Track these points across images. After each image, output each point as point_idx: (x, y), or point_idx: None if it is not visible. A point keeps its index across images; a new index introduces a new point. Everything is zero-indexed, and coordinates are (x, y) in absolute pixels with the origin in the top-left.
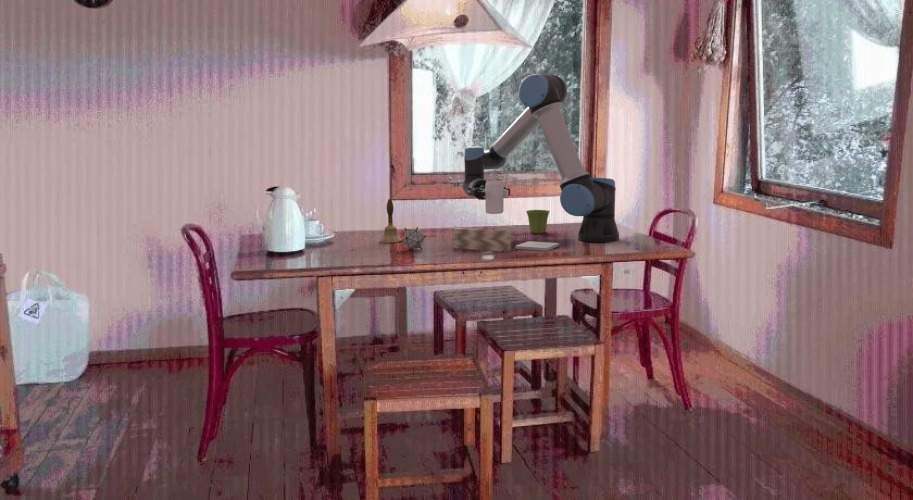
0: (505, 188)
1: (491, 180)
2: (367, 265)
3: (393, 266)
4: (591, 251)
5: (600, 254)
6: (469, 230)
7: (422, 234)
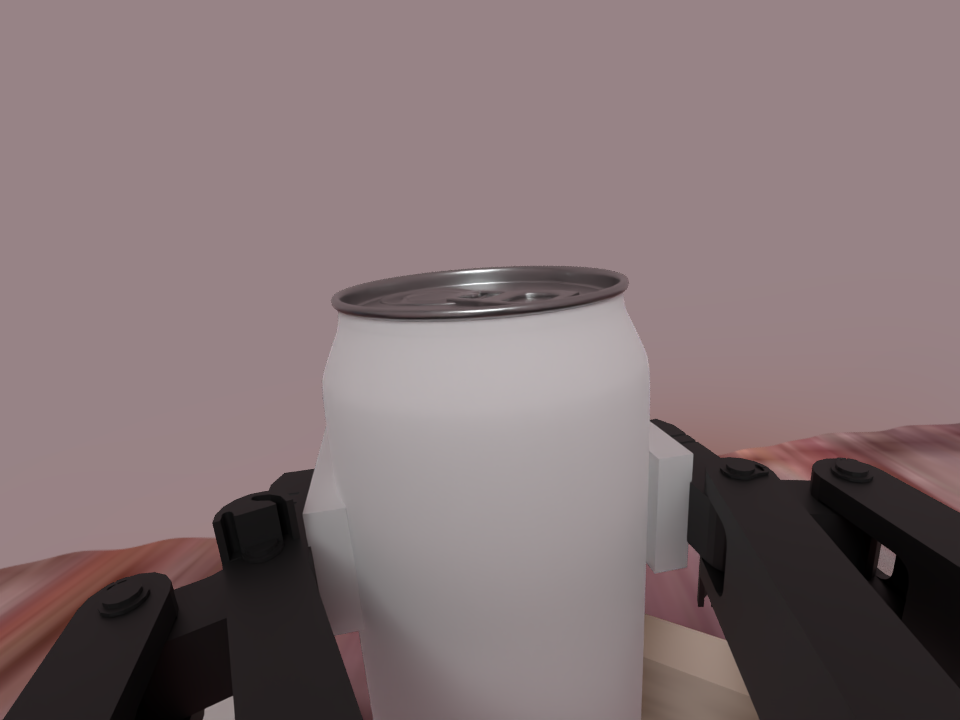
0: (243, 524)
1: (531, 272)
2: (943, 449)
3: (838, 442)
4: (28, 639)
5: (77, 574)
6: (729, 647)
7: None
